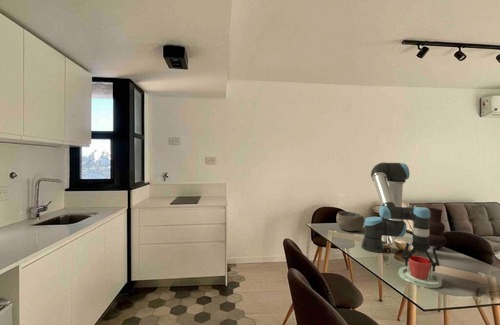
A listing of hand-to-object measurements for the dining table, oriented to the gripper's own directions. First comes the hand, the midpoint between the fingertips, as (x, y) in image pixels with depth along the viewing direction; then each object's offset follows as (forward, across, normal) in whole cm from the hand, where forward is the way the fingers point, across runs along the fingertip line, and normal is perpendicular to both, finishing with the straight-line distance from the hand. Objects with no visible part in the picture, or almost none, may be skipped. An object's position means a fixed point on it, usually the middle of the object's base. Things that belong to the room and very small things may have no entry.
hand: (419, 274), depth 136 cm
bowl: (+3, -48, +77) cm, 91 cm away
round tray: (+3, 0, 0) cm, 3 cm away
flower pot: (+1, 0, 0) cm, 1 cm away
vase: (+3, +14, +64) cm, 65 cm away
